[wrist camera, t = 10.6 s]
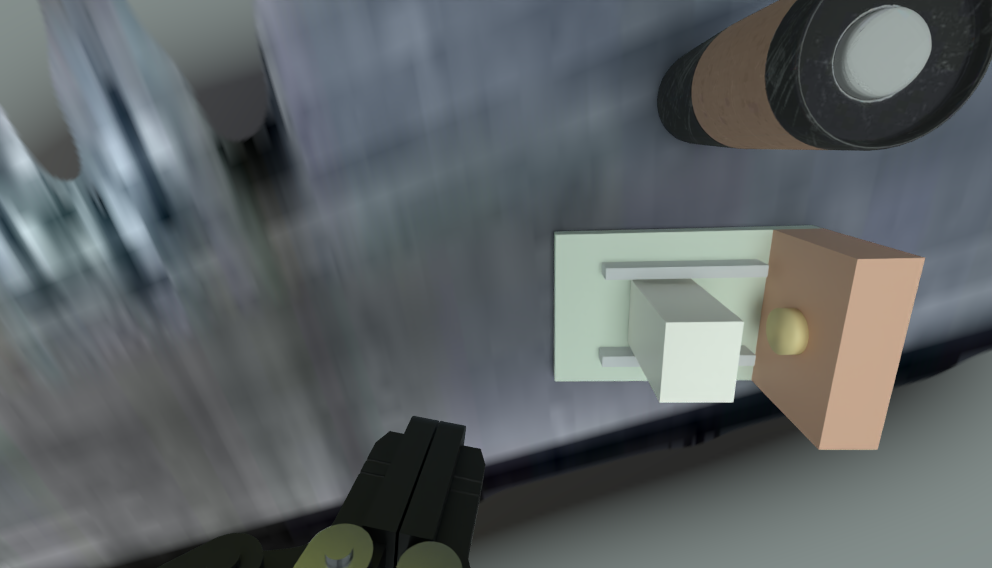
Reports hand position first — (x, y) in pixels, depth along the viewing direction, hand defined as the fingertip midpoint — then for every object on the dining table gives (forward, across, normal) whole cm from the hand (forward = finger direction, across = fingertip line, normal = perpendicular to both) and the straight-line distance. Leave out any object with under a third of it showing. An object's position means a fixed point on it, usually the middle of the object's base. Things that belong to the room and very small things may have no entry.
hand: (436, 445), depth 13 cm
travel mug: (+32, -13, -11) cm, 36 cm away
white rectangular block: (+28, -14, +7) cm, 32 cm away
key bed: (+30, -15, +7) cm, 35 cm away
